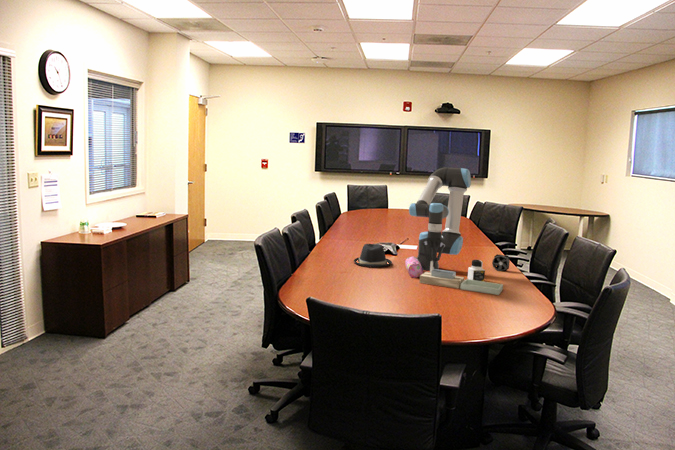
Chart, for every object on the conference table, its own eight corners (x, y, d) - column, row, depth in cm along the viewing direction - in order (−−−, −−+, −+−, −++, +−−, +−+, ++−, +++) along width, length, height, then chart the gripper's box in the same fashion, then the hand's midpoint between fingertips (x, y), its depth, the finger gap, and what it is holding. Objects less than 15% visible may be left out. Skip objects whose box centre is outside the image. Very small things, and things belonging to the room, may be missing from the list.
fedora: (391, 260, 345) (392, 242, 343) (392, 269, 318) (393, 249, 316) (354, 258, 347) (355, 240, 345) (352, 267, 320) (353, 247, 318)
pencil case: (423, 278, 297) (424, 263, 296) (407, 277, 297) (408, 262, 296) (419, 270, 318) (420, 256, 317) (404, 269, 319) (405, 255, 317)
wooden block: (425, 278, 297) (426, 271, 297) (463, 284, 287) (464, 277, 287) (419, 282, 286) (419, 275, 286) (458, 288, 277) (459, 281, 276)
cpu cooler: (491, 270, 326) (492, 254, 325) (493, 268, 331) (494, 253, 330) (508, 272, 322) (509, 256, 320) (509, 270, 327) (511, 255, 325)
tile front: (444, 275, 289) (445, 270, 288) (455, 277, 286) (455, 271, 286) (441, 277, 283) (442, 272, 283) (452, 279, 281) (452, 273, 280)
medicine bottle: (472, 282, 293) (474, 261, 291) (467, 279, 300) (468, 258, 298) (484, 282, 294) (486, 261, 293) (478, 278, 301) (480, 258, 300)
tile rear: (434, 274, 291) (434, 268, 291) (444, 275, 289) (445, 270, 288) (431, 276, 286) (431, 270, 286) (441, 277, 283) (442, 272, 283)
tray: (465, 284, 287) (466, 278, 287) (502, 289, 279) (503, 284, 278) (460, 289, 276) (460, 283, 276) (498, 295, 267) (499, 289, 267)
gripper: (421, 230, 285) (418, 271, 288) (444, 233, 279) (441, 275, 282) (425, 228, 292) (422, 269, 295) (448, 231, 286) (444, 272, 289)
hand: (431, 272), depth 289 cm, fingers closed
